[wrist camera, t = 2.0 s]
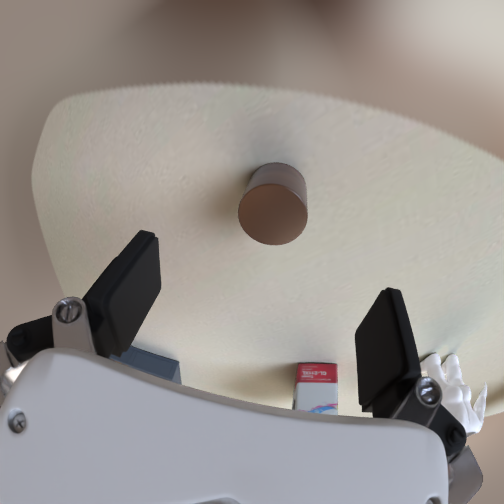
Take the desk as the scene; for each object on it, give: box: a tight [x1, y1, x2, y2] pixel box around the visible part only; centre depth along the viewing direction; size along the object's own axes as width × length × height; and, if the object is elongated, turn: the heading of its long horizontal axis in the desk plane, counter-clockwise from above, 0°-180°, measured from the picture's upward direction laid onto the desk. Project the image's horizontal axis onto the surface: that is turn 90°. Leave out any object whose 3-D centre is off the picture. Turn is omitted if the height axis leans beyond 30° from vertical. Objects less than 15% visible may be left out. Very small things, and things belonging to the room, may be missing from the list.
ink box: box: [292, 363, 338, 415], centre depth 28 cm, size 9×5×12 cm, turn 2°
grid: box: [108, 346, 181, 384], centre depth 38 cm, size 13×13×3 cm
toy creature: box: [420, 353, 487, 437], centre depth 23 cm, size 12×6×12 cm, turn 82°
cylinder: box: [238, 163, 308, 245], centre depth 17 cm, size 4×4×4 cm
